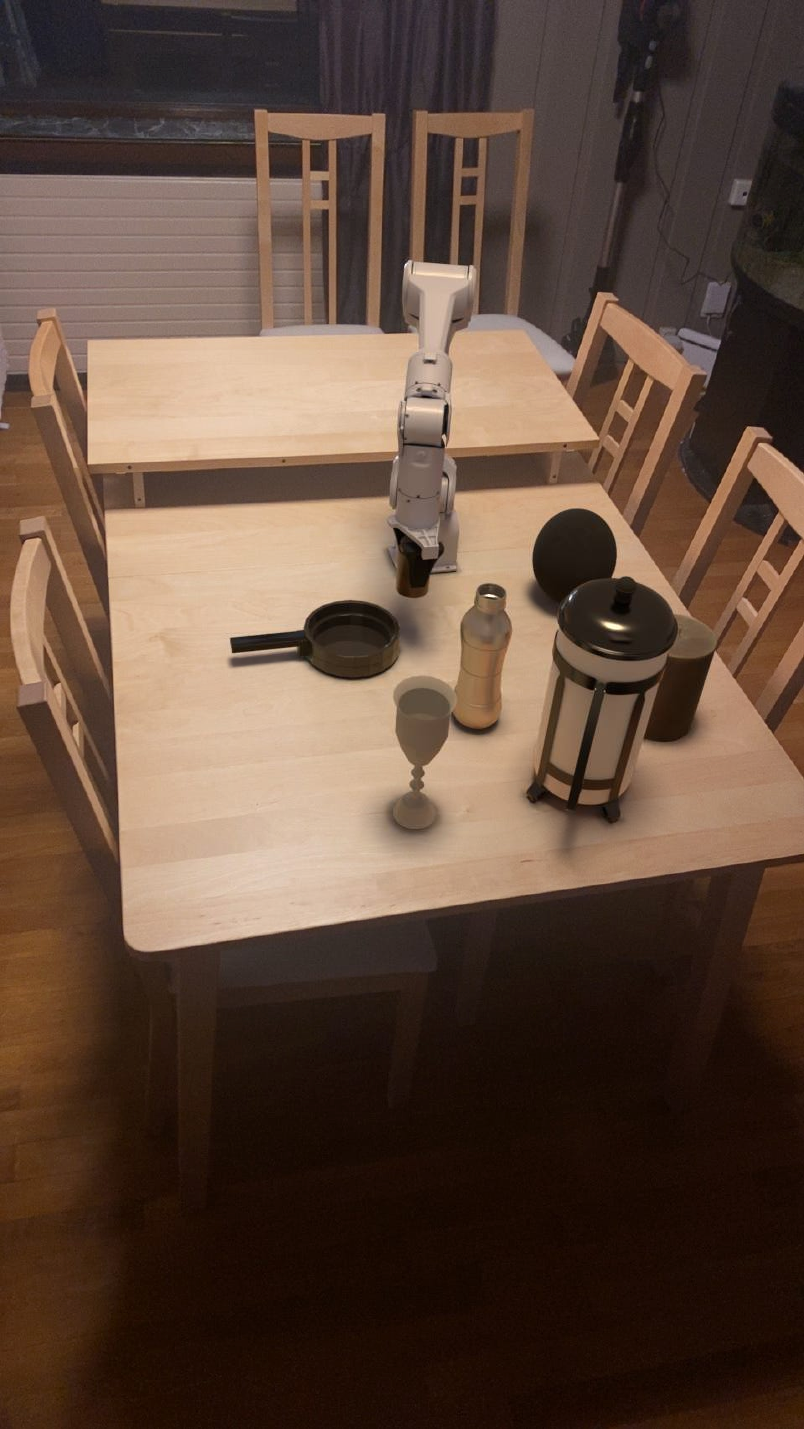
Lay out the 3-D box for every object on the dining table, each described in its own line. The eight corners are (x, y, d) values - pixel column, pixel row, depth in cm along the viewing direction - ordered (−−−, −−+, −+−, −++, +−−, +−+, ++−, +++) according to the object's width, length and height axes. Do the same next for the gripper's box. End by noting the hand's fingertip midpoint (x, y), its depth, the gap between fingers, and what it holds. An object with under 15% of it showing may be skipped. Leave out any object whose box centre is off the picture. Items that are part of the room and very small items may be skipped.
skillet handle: (306, 645, 140) (306, 629, 138) (309, 656, 138) (309, 640, 136) (230, 653, 138) (229, 636, 136) (233, 664, 136) (231, 648, 134)
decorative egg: (622, 612, 151) (643, 526, 142) (553, 630, 147) (570, 542, 137) (577, 570, 160) (594, 486, 150) (510, 586, 155) (524, 500, 145)
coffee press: (490, 758, 126) (521, 554, 106) (598, 730, 131) (648, 530, 111) (558, 858, 114) (608, 649, 94) (674, 822, 119) (745, 617, 99)
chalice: (383, 791, 120) (390, 675, 108) (439, 790, 121) (452, 675, 109) (387, 837, 115) (395, 720, 103) (446, 835, 116) (460, 719, 104)
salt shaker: (423, 578, 143) (427, 531, 137) (432, 596, 139) (436, 548, 134) (392, 581, 142) (395, 533, 136) (400, 600, 138) (403, 551, 133)
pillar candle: (685, 749, 129) (715, 658, 119) (611, 729, 131) (634, 637, 121) (696, 704, 136) (725, 614, 126) (625, 686, 138) (648, 596, 128)
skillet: (386, 618, 147) (387, 596, 144) (408, 674, 137) (409, 651, 135) (297, 627, 144) (297, 604, 142) (313, 685, 135) (313, 661, 132)
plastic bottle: (466, 741, 128) (483, 613, 115) (440, 709, 132) (454, 582, 119) (508, 727, 130) (530, 600, 117) (482, 696, 135) (500, 571, 122)
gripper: (377, 463, 134) (373, 550, 143) (403, 518, 124) (397, 608, 133) (427, 460, 136) (420, 546, 145) (457, 514, 126) (448, 603, 134)
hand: (413, 575), depth 139 cm, fingers closed on salt shaker, 4 cm apart
